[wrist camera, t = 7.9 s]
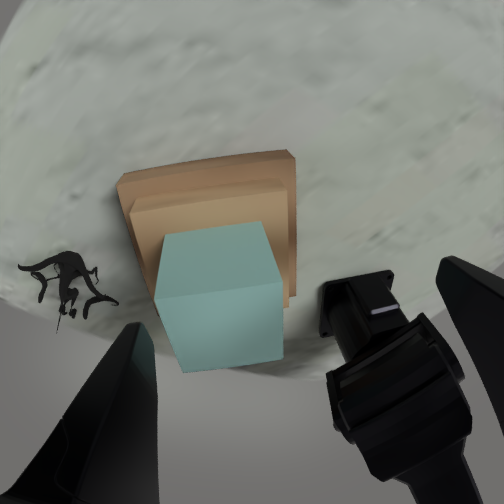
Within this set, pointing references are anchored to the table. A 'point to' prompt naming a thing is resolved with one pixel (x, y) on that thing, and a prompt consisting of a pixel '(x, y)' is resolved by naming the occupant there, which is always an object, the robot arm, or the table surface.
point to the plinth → (211, 176)
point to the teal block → (221, 297)
